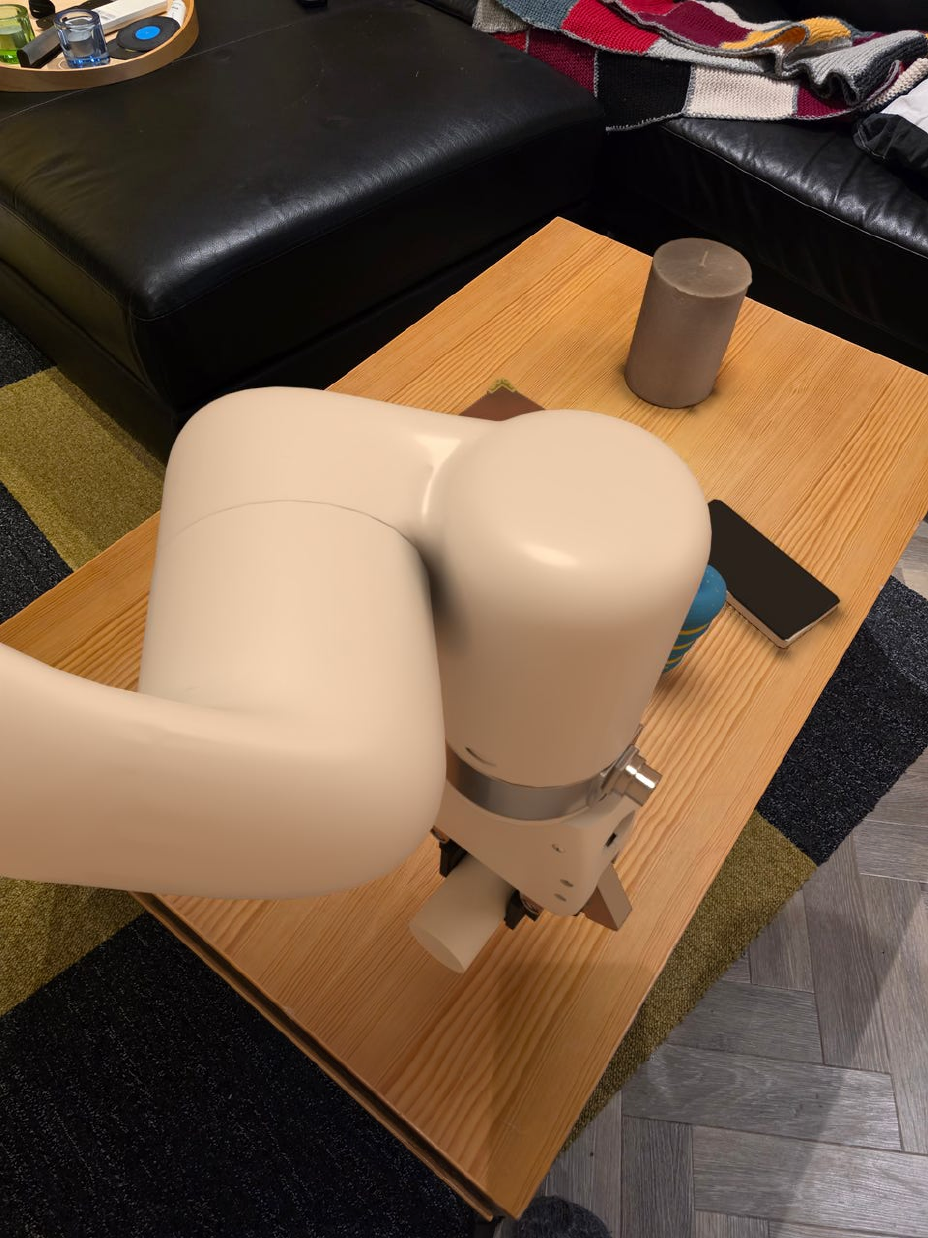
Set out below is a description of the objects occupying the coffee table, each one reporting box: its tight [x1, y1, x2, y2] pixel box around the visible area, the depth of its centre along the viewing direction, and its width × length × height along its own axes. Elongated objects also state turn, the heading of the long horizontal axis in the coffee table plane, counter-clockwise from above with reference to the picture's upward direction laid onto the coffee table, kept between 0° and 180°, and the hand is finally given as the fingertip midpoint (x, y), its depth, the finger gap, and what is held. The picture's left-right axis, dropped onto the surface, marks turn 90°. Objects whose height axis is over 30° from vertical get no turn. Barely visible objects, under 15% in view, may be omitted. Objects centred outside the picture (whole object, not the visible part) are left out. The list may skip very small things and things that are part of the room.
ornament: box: [660, 564, 727, 676], centre depth 67 cm, size 5×5×15 cm
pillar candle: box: [624, 237, 753, 409], centre depth 89 cm, size 10×10×15 cm
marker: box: [408, 851, 516, 974], centre depth 46 cm, size 10×4×4 cm, turn 142°
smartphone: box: [707, 498, 841, 649], centre depth 80 cm, size 8×1×15 cm
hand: (493, 879), depth 47 cm, fingers closed on marker, 3 cm apart
